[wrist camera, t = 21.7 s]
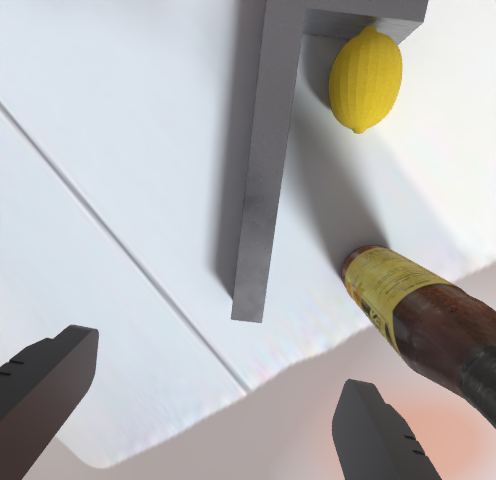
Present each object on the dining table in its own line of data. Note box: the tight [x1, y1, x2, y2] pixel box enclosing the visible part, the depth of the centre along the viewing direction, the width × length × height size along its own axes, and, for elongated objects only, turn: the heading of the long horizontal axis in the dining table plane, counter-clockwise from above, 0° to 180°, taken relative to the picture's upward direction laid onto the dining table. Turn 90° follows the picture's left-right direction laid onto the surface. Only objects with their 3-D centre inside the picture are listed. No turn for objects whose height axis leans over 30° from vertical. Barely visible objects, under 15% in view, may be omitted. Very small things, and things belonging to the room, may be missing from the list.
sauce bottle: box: [342, 245, 496, 429], centre depth 20 cm, size 6×6×20 cm
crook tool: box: [231, 0, 428, 323], centre depth 26 cm, size 12×29×4 cm, turn 173°
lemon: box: [329, 26, 402, 134], centre depth 23 cm, size 6×6×8 cm
